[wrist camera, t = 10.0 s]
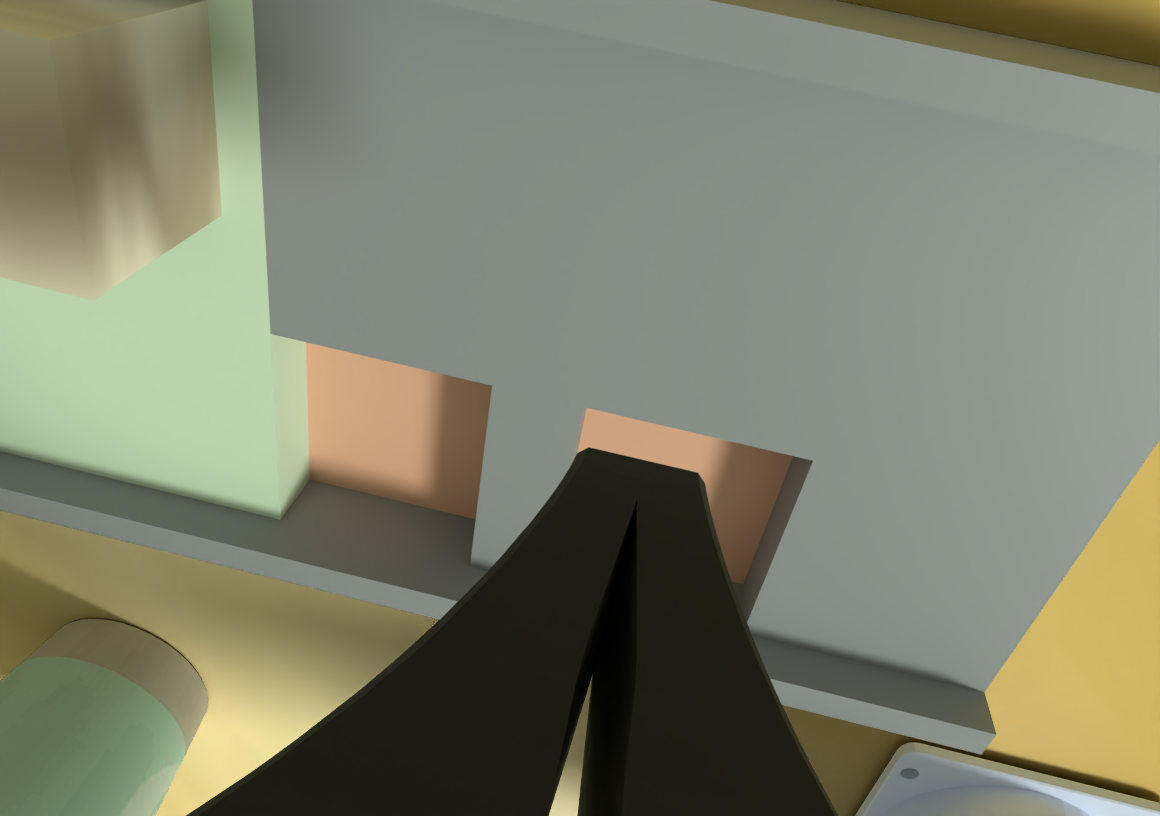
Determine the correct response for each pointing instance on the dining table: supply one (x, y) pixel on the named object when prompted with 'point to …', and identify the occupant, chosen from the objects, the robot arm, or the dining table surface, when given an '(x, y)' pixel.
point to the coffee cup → (96, 723)
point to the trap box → (636, 318)
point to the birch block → (103, 138)
